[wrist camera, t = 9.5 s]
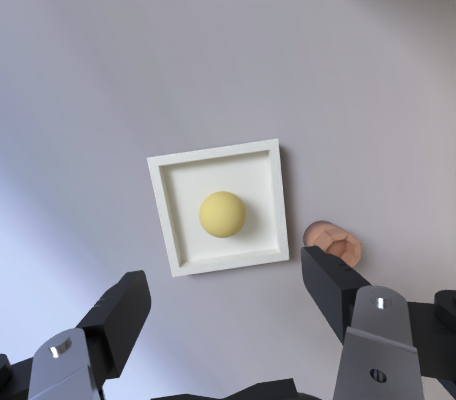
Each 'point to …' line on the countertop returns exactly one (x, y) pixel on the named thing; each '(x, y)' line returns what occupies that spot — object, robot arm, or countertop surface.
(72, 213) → the countertop surface
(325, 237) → the cup
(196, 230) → the tray
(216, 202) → the ball
